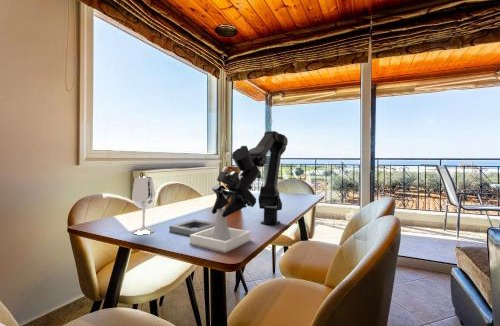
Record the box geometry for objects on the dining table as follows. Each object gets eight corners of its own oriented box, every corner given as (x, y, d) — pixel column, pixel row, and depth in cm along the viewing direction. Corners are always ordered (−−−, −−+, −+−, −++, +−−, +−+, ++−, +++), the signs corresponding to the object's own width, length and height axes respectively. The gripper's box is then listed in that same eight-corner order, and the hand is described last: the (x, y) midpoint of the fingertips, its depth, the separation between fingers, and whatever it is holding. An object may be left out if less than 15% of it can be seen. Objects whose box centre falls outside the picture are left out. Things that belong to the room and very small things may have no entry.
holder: (193, 224, 108) (193, 219, 108) (218, 229, 101) (219, 223, 101) (169, 231, 97) (169, 226, 97) (195, 237, 90) (195, 231, 90)
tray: (217, 233, 95) (217, 225, 95) (250, 240, 88) (250, 231, 88) (189, 244, 83) (189, 234, 83) (225, 253, 76) (225, 242, 76)
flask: (228, 244, 81) (228, 212, 81) (206, 242, 83) (206, 211, 83) (234, 238, 88) (235, 208, 88) (214, 236, 90) (214, 207, 90)
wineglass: (146, 227, 101) (147, 176, 101) (159, 231, 97) (159, 177, 97) (127, 232, 95) (127, 177, 95) (139, 236, 91) (140, 178, 90)
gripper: (217, 162, 95) (188, 195, 88) (249, 163, 80) (218, 202, 73) (234, 183, 100) (208, 215, 93) (268, 187, 85) (240, 226, 78)
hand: (217, 214), depth 84 cm, fingers open, 6 cm apart
